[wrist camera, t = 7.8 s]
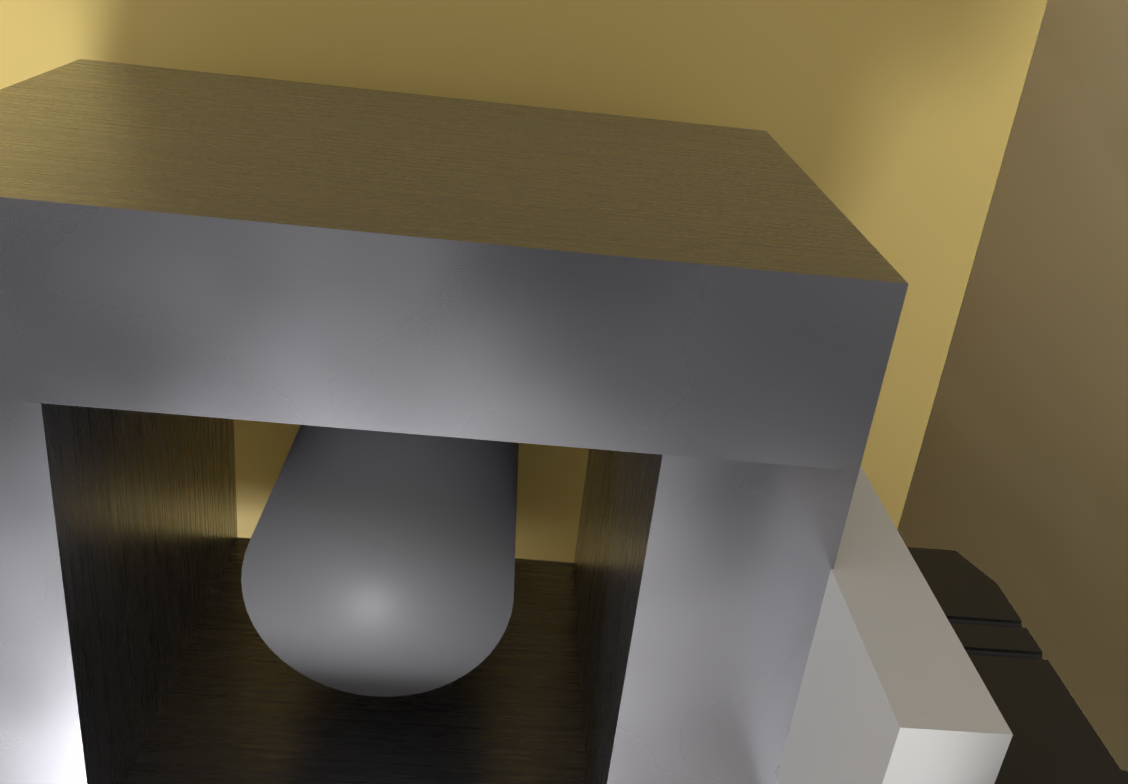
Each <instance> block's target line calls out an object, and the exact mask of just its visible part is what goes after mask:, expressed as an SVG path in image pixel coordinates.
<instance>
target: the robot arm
mask: <svg viewBox="0 0 1128 784" xmlns="http://www.w3.org/2000/svg"><path fill="white" fill-rule="evenodd" d="M775 784H1128V772H1127V771H1122V770H1120V768H1119V767H1118V765H1117V764H1116V762H1115V761H1114V759H1113V758H1112V756H1111V755H1110V753H1109V752H1108V750H1107V749H1106V747H1105V746H1104V744H1103V743H1102V741H1101V740H1100V738H1099V737H1098V735H1097V734H1096V732H1095V731H1094V729H1093V728H1092V726H1091V725H1090V723H1089V722H1088V720H1087V719H1086V717H1085V716H1084V714H1083V713H1082V711H1081V710H1080V708H1079V707H1078V705H1077V704H1076V702H1075V701H1074V699H1073V698H1072V696H1071V695H1070V693H1069V692H1068V690H1067V689H1066V687H1065V686H1064V684H1063V683H1062V681H1061V680H1060V678H1059V677H1058V675H1057V674H1056V672H1055V670H1054V669H1053V667H1052V666H1051V664H1050V663H1049V661H1048V660H1042V651H1041V649H1040V648H1039V646H1038V645H1037V643H1036V642H1035V640H1034V639H1033V637H1032V636H1031V634H1030V633H1029V631H1028V630H1027V628H1022V627H1021V619H1020V618H1019V616H1018V615H1017V613H1016V612H1015V610H1014V609H1013V607H1012V606H1011V604H1010V603H1009V601H1008V600H1007V598H1006V597H1005V595H1004V594H1003V592H1002V591H1001V589H1000V588H999V586H998V585H997V584H996V583H995V582H994V581H993V580H991V579H990V578H989V577H988V576H986V575H985V574H984V573H983V572H981V571H980V570H979V569H978V568H976V567H975V566H974V565H973V564H971V563H970V562H969V561H968V560H966V559H965V558H964V557H963V556H961V555H960V554H959V553H958V552H956V551H951V550H938V549H924V548H911V547H907V546H906V545H905V543H904V541H903V539H902V538H901V536H900V534H899V532H898V530H897V529H896V527H895V525H894V523H893V522H892V520H891V518H890V516H889V515H888V513H887V511H886V509H885V508H884V506H883V504H882V502H881V500H880V499H879V497H878V495H877V493H876V492H875V490H874V488H873V486H872V485H871V483H870V481H869V479H868V477H867V476H866V474H865V472H864V470H863V469H862V467H861V466H860V470H859V474H858V478H857V481H856V485H855V489H854V493H853V496H852V500H851V504H850V508H849V512H848V515H847V519H846V523H845V527H844V530H843V534H842V538H841V542H840V546H839V549H838V553H837V557H836V561H835V564H834V568H833V569H831V571H830V575H829V579H828V582H827V586H826V590H825V594H824V598H823V602H822V606H821V609H820V613H819V617H818V621H817V625H816V629H815V633H814V636H813V640H812V644H811V648H810V652H809V656H808V660H807V663H806V667H805V671H804V675H803V679H802V683H801V687H800V690H799V694H798V698H797V702H796V706H795V710H794V713H793V717H792V721H791V725H790V729H789V733H788V737H787V740H786V744H785V748H784V752H783V756H782V760H781V764H780V767H779V771H778V775H777V779H776V783H775Z"/></svg>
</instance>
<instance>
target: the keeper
mask: <svg viewBox="0 0 1128 784" xmlns="http://www.w3.org/2000/svg"><path fill="white" fill-rule="evenodd" d="M1047 1H1048V0H0V90H1V89H3V88H6V87H8V86H11V85H14V84H16V83H19V82H21V81H24V80H27V79H29V78H32V77H34V76H37V75H40V74H42V73H45V72H47V71H50V70H53V69H55V68H58V67H61V66H63V65H66V64H68V63H71V62H74V61H76V60H79V59H85V60H95V61H104V62H114V63H124V64H133V65H143V66H152V67H162V68H171V69H181V70H190V71H200V72H209V73H219V74H228V75H238V76H247V77H257V78H267V79H276V80H286V81H295V82H305V83H314V84H324V85H333V86H343V87H352V88H362V89H371V90H381V91H390V92H400V93H410V94H419V95H429V96H438V97H448V98H457V99H467V100H476V101H486V102H495V103H505V104H514V105H524V106H533V107H543V108H553V109H562V110H572V111H581V112H591V113H600V114H610V115H619V116H629V117H638V118H648V119H657V120H667V121H677V122H686V123H696V124H705V125H715V126H724V127H734V128H743V129H753V130H762V131H767V132H768V134H769V135H770V136H771V137H772V138H773V139H774V140H775V141H776V142H777V143H778V144H779V145H780V146H781V147H782V149H783V150H784V151H785V152H786V153H787V154H788V155H789V156H790V157H791V158H792V159H793V160H794V161H795V162H796V164H797V165H798V166H799V167H800V168H801V169H802V170H803V171H804V172H805V173H806V174H807V175H808V176H809V177H810V179H811V180H812V181H813V182H814V183H815V184H816V185H817V186H818V187H819V188H820V189H821V190H822V191H823V192H824V194H825V195H826V196H827V197H828V198H829V199H830V200H831V201H832V202H833V203H834V204H835V205H836V206H837V208H838V209H839V210H840V211H841V212H842V213H843V214H844V215H845V216H846V217H847V218H848V219H849V220H850V221H851V223H852V224H853V225H854V226H855V227H856V228H857V229H858V230H859V231H860V232H861V233H862V234H863V235H864V236H865V238H866V239H867V240H868V241H869V242H870V243H871V244H872V245H873V246H874V247H875V248H876V249H877V250H878V251H879V253H880V254H881V255H882V256H883V257H884V258H885V259H886V260H887V261H888V262H889V263H890V264H891V265H892V266H893V268H894V269H895V270H896V271H897V272H898V273H899V274H900V275H901V276H902V277H903V278H904V279H905V280H906V281H907V283H908V284H909V285H908V289H907V292H906V296H905V300H904V304H903V308H902V311H901V315H900V319H899V323H898V326H897V330H896V334H895V338H894V342H893V345H892V349H891V353H890V357H889V360H888V364H887V368H886V372H885V376H884V379H883V383H882V387H881V391H880V394H879V398H878V402H877V406H876V410H875V413H874V417H873V421H872V425H871V428H870V432H869V436H868V440H867V444H866V447H865V451H864V455H863V459H862V462H861V467H862V469H863V470H864V472H865V474H866V476H867V477H868V479H869V481H870V483H871V485H872V486H873V488H874V490H875V492H876V493H877V495H878V497H879V499H880V500H881V502H882V504H883V506H884V508H885V509H886V511H887V513H888V515H889V516H890V518H891V520H892V522H893V523H894V525H895V527H896V529H898V526H899V522H900V519H901V515H902V512H903V508H904V505H905V501H906V498H907V494H908V491H909V487H910V484H911V480H912V477H913V473H914V470H915V466H916V462H917V459H918V455H919V452H920V448H921V445H922V441H923V438H924V434H925V431H926V427H927V424H928V420H929V417H930V413H931V410H932V406H933V403H934V399H935V396H936V392H937V389H938V385H939V382H940V378H941V375H942V371H943V367H944V364H945V360H946V357H947V353H948V350H949V346H950V343H951V339H952V336H953V332H954V329H955V325H956V322H957V318H958V315H959V311H960V308H961V304H962V301H963V297H964V294H965V290H966V287H967V283H968V279H969V276H970V272H971V269H972V265H973V262H974V258H975V255H976V251H977V248H978V244H979V241H980V237H981V234H982V230H983V227H984V223H985V220H986V216H987V213H988V209H989V206H990V202H991V199H992V195H993V191H994V188H995V184H996V181H997V177H998V174H999V170H1000V167H1001V163H1002V160H1003V156H1004V153H1005V149H1006V146H1007V142H1008V139H1009V135H1010V132H1011V128H1012V125H1013V121H1014V118H1015V114H1016V111H1017V107H1018V104H1019V100H1020V96H1021V93H1022V89H1023V86H1024V82H1025V79H1026V75H1027V72H1028V68H1029V65H1030V61H1031V58H1032V54H1033V51H1034V47H1035V44H1036V40H1037V37H1038V33H1039V30H1040V26H1041V23H1042V19H1043V16H1044V12H1045V8H1046V5H1047ZM234 446H235V477H236V507H237V537H239V538H251V539H250V541H249V544H248V547H247V549H246V552H245V555H244V560H243V565H242V576H241V584H242V593H243V599H244V602H245V606H246V610H247V612H248V615H249V617H250V619H251V621H252V624H253V626H254V627H255V629H256V630H257V632H258V634H259V635H260V637H261V638H262V639H263V641H264V642H265V643H266V644H267V645H268V647H269V648H270V649H271V650H272V651H273V652H274V653H275V654H276V655H277V656H278V657H279V658H280V659H281V660H282V661H284V662H285V663H286V664H288V665H289V666H290V667H292V668H293V669H294V670H296V671H298V672H299V673H301V674H303V675H304V676H306V677H308V678H310V679H312V680H314V681H316V682H318V683H321V684H323V685H325V686H328V687H331V688H334V689H337V690H340V691H344V692H349V693H353V694H358V695H366V696H377V697H394V696H405V695H412V694H417V693H422V692H426V691H430V690H433V689H436V688H439V687H442V686H444V685H446V684H449V683H451V682H453V681H455V680H457V679H459V678H460V677H462V676H464V675H466V674H467V673H469V672H470V671H471V670H473V669H474V668H475V667H477V666H478V665H479V664H480V663H481V662H482V661H483V660H484V659H485V658H486V657H487V656H488V655H489V654H490V653H491V652H492V651H493V649H494V648H495V647H496V645H497V644H498V643H499V641H500V639H501V638H502V636H503V634H504V632H505V630H506V628H507V625H508V622H509V619H510V617H511V612H512V607H513V602H514V573H515V558H518V559H532V560H545V561H558V562H572V563H574V557H575V550H576V542H577V535H578V527H579V520H580V513H581V505H582V498H583V490H584V483H585V475H586V468H587V461H588V453H589V449H587V448H575V447H563V446H551V445H539V444H527V443H515V442H503V441H491V440H479V439H467V438H455V437H442V436H430V435H418V434H406V433H394V432H382V431H370V430H358V429H346V428H334V427H322V426H310V425H298V424H285V423H273V422H261V421H249V420H237V419H234Z"/></svg>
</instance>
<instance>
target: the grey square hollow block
mask: <svg viewBox="0 0 1128 784" xmlns="http://www.w3.org/2000/svg"><path fill="white" fill-rule="evenodd" d="M908 285H909V284H908V283H907V281H906V280H905V279H904V278H903V277H902V276H901V275H900V274H899V273H898V272H897V271H896V270H895V269H894V268H893V266H892V265H891V264H890V263H889V262H888V261H887V260H886V259H885V258H884V257H883V256H882V255H881V254H880V253H879V251H878V250H877V249H876V248H875V247H874V246H873V245H872V244H871V243H870V242H869V241H868V240H867V239H866V238H865V236H864V235H863V234H862V233H861V232H860V231H859V230H858V229H857V228H856V227H855V226H854V225H853V224H852V223H851V221H850V220H849V219H848V218H847V217H846V216H845V215H844V214H843V213H842V212H841V211H840V210H839V209H838V208H837V206H836V205H835V204H834V203H833V202H832V201H831V200H830V199H829V198H828V197H827V196H826V195H825V194H824V192H823V191H822V190H821V189H820V188H819V187H818V186H817V185H816V184H815V183H814V182H813V181H812V180H811V179H810V177H809V176H808V175H807V174H806V173H805V172H804V171H803V170H802V169H801V168H800V167H799V166H798V165H797V164H796V162H795V161H794V160H793V159H792V158H791V157H790V156H789V155H788V154H787V153H786V152H785V151H784V150H783V149H782V147H781V146H780V145H779V144H778V143H777V142H776V141H775V140H774V139H773V138H772V137H771V136H770V135H769V134H768V132H767V131H762V130H753V129H743V128H734V127H724V126H715V125H705V124H696V123H686V122H677V121H667V120H657V119H648V118H638V117H629V116H619V115H610V114H600V113H591V112H581V111H572V110H562V109H553V108H543V107H533V106H524V105H514V104H505V103H495V102H486V101H476V100H467V99H457V98H448V97H438V96H429V95H419V94H410V93H400V92H390V91H381V90H371V89H362V88H352V87H343V86H333V85H324V84H314V83H305V82H295V81H286V80H276V79H267V78H257V77H247V76H238V75H228V74H219V73H209V72H200V71H190V70H181V69H171V68H162V67H152V66H143V65H133V64H124V63H114V62H104V61H95V60H85V59H79V60H76V61H74V62H71V63H68V64H66V65H63V66H61V67H58V68H55V69H53V70H50V71H47V72H45V73H42V74H40V75H37V76H34V77H32V78H29V79H27V80H24V81H21V82H19V83H16V84H14V85H11V86H8V87H6V88H3V89H1V90H0V784H775V783H776V779H777V775H778V771H779V767H780V764H781V760H782V756H783V752H784V748H785V744H786V740H787V737H788V733H789V729H790V725H791V721H792V717H793V713H794V710H795V706H796V702H797V698H798V694H799V690H800V687H801V683H802V679H803V675H804V671H805V667H806V663H807V660H808V656H809V652H810V648H811V644H812V640H813V636H814V633H815V629H816V625H817V621H818V617H819V613H820V609H821V606H822V602H823V598H824V594H825V590H826V586H827V582H828V579H829V575H830V571H831V569H833V568H834V564H835V561H836V557H837V553H838V549H839V546H840V542H841V538H842V534H843V530H844V527H845V523H846V519H847V515H848V512H849V508H850V504H851V500H852V496H853V493H854V489H855V485H856V481H857V478H858V474H859V470H860V466H861V462H862V459H863V455H864V451H865V447H866V444H867V440H868V436H869V432H870V428H871V425H872V421H873V417H874V413H875V410H876V406H877V402H878V398H879V394H880V391H881V387H882V383H883V379H884V376H885V372H886V368H887V364H888V360H889V357H890V353H891V349H892V345H893V342H894V338H895V334H896V330H897V326H898V323H899V319H900V315H901V311H902V308H903V304H904V300H905V296H906V292H907V289H908ZM234 419H237V420H249V421H261V422H273V423H285V424H298V425H310V426H322V427H334V428H346V429H358V430H370V431H382V432H394V433H406V434H418V435H430V436H442V437H455V438H467V439H479V440H491V441H503V442H515V443H527V444H539V445H551V446H563V447H575V448H587V449H589V453H588V461H587V468H586V475H585V483H584V490H583V498H582V505H581V513H580V520H579V527H578V535H577V542H576V550H575V557H574V563H572V562H558V561H545V560H532V559H518V558H515V573H514V602H513V607H512V612H511V617H510V619H509V622H508V625H507V628H506V630H505V632H504V634H503V636H502V638H501V639H500V641H499V643H498V644H497V645H496V647H495V648H494V649H493V651H492V652H491V653H490V654H489V655H488V656H487V657H486V658H485V659H484V660H483V661H482V662H481V663H480V664H479V665H478V666H477V667H475V668H474V669H473V670H471V671H470V672H469V673H467V674H466V675H464V676H462V677H460V678H459V679H457V680H455V681H453V682H451V683H449V684H446V685H444V686H442V687H439V688H436V689H433V690H430V691H426V692H422V693H417V694H412V695H405V696H394V697H377V696H366V695H358V694H353V693H349V692H344V691H340V690H337V689H334V688H331V687H328V686H325V685H323V684H321V683H318V682H316V681H314V680H312V679H310V678H308V677H306V676H304V675H303V674H301V673H299V672H298V671H296V670H294V669H293V668H292V667H290V666H289V665H288V664H286V663H285V662H284V661H282V660H281V659H280V658H279V657H278V656H277V655H276V654H275V653H274V652H273V651H272V650H271V649H270V648H269V647H268V645H267V644H266V643H265V642H264V641H263V639H262V638H261V637H260V635H259V634H258V632H257V630H256V629H255V627H254V626H253V624H252V621H251V619H250V617H249V615H248V612H247V610H246V606H245V602H244V599H243V593H242V584H241V576H242V565H243V560H244V555H245V552H246V549H247V547H248V544H249V541H250V539H251V538H239V537H237V507H236V477H235V446H234Z"/></svg>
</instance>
